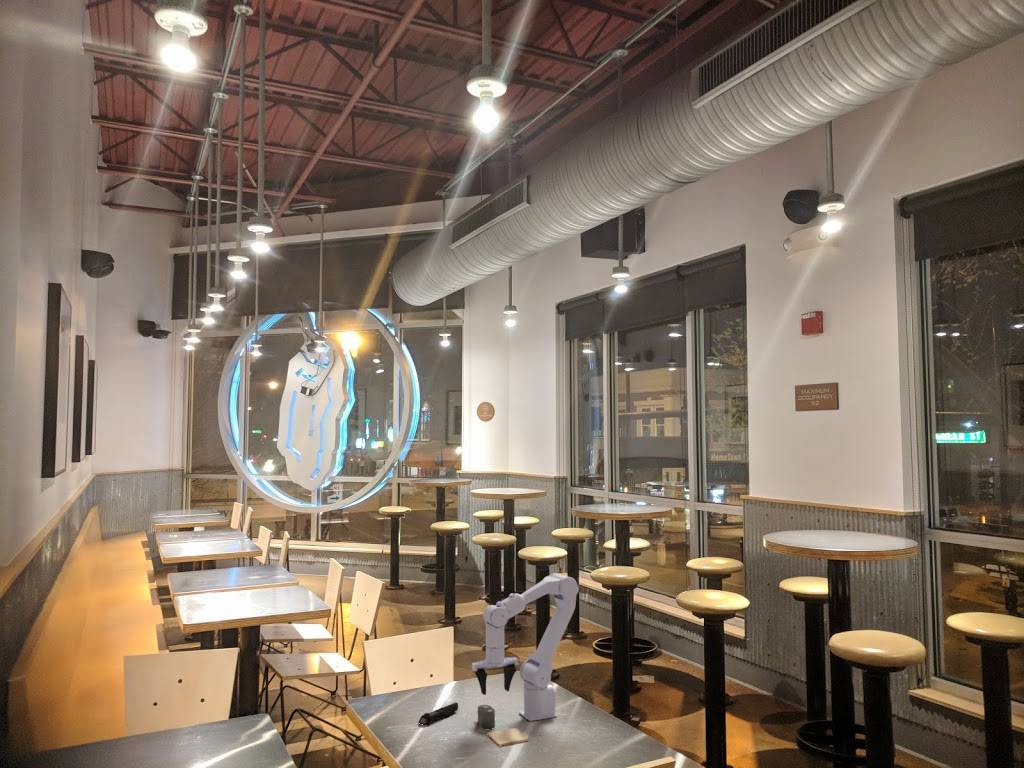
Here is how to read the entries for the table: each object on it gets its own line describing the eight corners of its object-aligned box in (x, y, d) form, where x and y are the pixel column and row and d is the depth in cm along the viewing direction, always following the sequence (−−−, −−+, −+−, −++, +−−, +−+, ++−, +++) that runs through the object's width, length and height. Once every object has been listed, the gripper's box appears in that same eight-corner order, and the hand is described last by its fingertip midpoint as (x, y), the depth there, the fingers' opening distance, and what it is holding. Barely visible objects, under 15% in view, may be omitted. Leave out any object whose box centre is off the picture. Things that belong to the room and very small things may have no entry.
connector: (496, 728, 223) (496, 711, 224) (484, 730, 222) (484, 713, 222) (485, 718, 231) (485, 701, 232) (473, 720, 230) (473, 703, 230)
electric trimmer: (461, 713, 237) (461, 703, 237) (426, 727, 225) (426, 716, 225) (452, 710, 240) (452, 700, 240) (417, 724, 227) (417, 713, 228)
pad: (515, 730, 222) (515, 727, 222) (528, 740, 214) (528, 738, 214) (487, 735, 218) (487, 732, 218) (499, 746, 210) (499, 744, 210)
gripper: (477, 652, 222) (477, 699, 221) (522, 646, 228) (522, 692, 227) (469, 646, 228) (469, 692, 227) (512, 641, 234) (512, 685, 233)
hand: (495, 692), depth 228 cm, fingers open, 7 cm apart
